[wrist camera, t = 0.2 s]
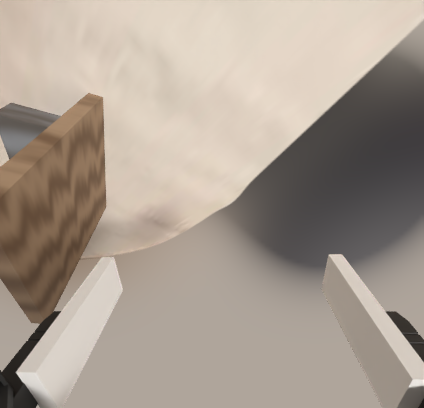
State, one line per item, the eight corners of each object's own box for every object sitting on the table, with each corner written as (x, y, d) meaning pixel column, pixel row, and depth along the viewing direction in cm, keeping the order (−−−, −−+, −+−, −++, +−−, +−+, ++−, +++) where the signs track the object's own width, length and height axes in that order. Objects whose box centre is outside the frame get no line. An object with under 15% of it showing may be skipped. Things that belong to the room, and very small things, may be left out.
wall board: (0, 67, 32) (-266, 168, 14) (102, 97, 34) (-17, 214, 17) (38, 192, 48) (-65, 311, 30) (106, 206, 50) (46, 324, 33)
